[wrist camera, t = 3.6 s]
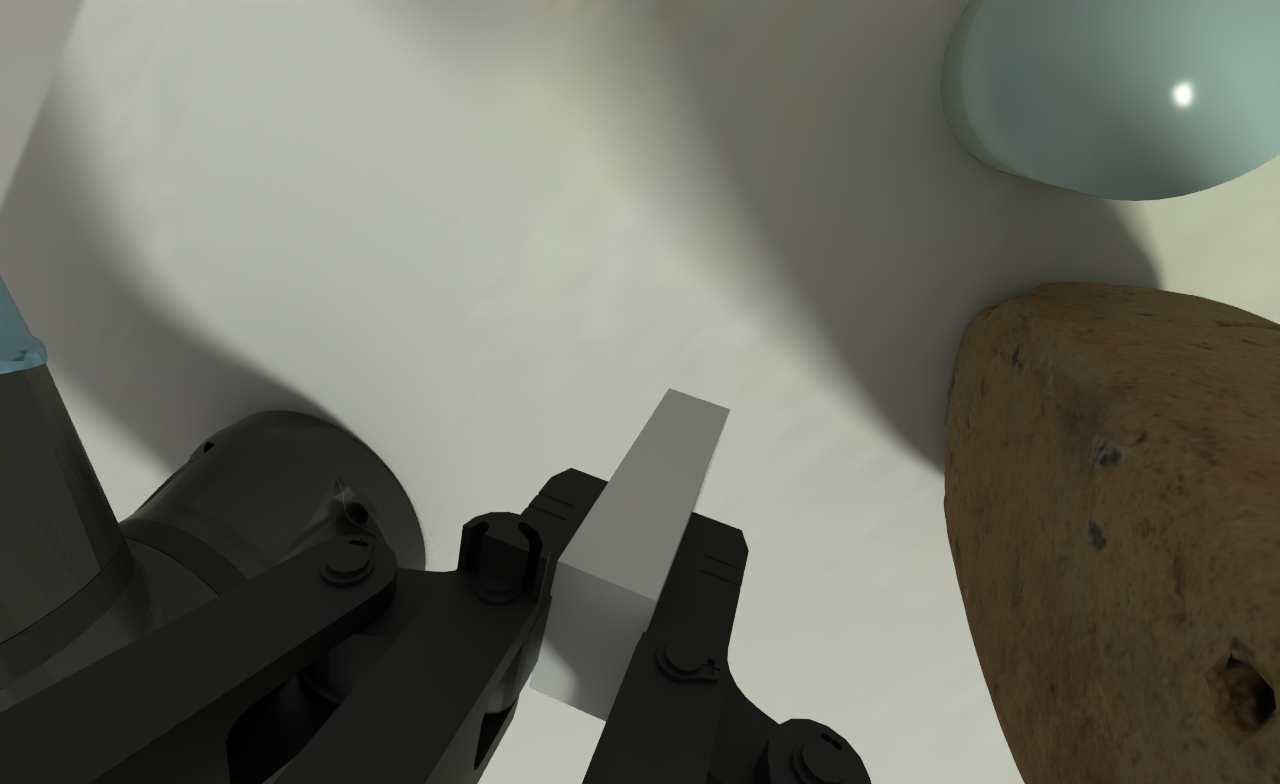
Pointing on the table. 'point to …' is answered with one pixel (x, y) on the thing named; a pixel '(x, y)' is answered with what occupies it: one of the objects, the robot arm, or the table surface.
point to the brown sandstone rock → (1121, 532)
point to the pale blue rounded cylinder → (1117, 92)
